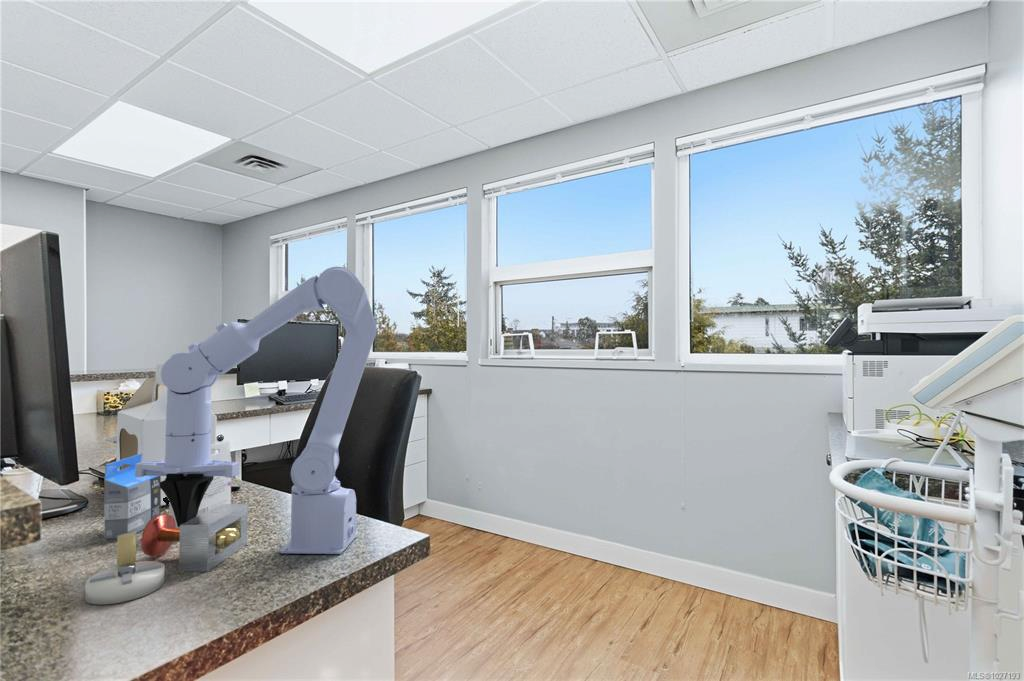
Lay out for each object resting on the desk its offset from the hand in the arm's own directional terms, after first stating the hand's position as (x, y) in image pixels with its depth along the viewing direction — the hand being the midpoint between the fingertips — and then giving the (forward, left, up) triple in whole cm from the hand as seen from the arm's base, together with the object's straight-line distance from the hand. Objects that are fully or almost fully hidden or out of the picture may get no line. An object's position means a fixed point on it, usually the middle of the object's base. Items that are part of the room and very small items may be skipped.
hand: (186, 524), depth 74 cm
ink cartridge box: (+6, -12, -5) cm, 14 cm away
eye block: (-4, 0, -5) cm, 6 cm away
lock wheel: (+1, +10, -5) cm, 12 cm away
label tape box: (+17, -11, -5) cm, 20 cm away
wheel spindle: (+1, +10, -3) cm, 11 cm away
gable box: (+28, -34, -5) cm, 44 cm away
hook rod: (-2, 0, -4) cm, 5 cm away
